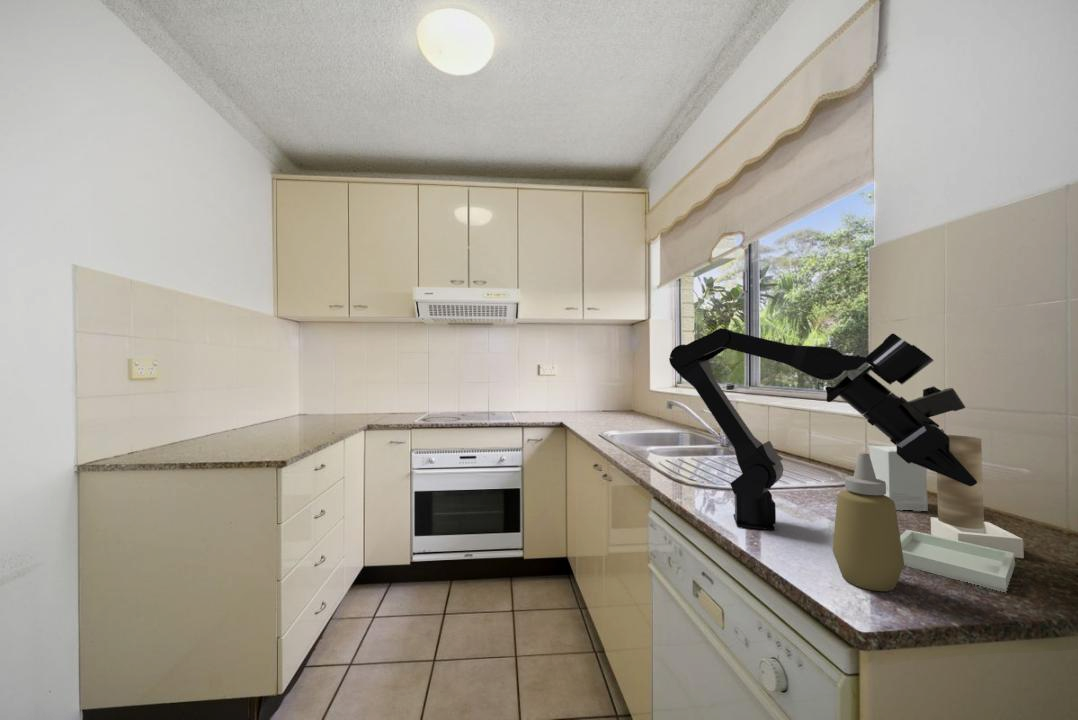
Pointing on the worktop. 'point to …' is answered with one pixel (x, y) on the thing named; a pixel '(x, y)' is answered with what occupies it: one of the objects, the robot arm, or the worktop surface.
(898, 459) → the supplement box
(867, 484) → the squeeze bottle
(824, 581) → the worktop surface
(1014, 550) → the socket block
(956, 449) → the maple dowel
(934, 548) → the sage tray
